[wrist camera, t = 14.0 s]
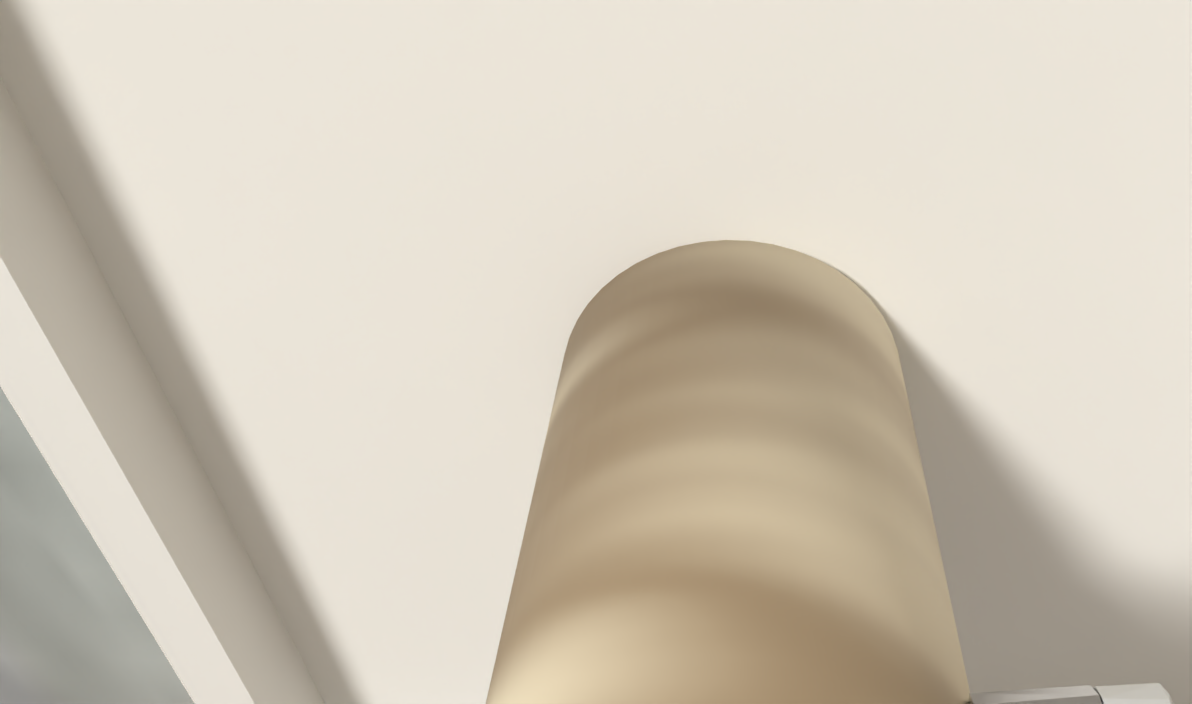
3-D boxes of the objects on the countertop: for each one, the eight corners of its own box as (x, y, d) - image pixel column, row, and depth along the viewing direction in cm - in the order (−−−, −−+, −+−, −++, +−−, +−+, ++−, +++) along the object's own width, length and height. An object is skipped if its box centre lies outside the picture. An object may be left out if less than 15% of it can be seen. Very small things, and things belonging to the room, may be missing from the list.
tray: (339, 782, 22) (305, 884, 20) (-204, -225, 12) (-357, -196, 11) (1362, 739, 18) (1427, 858, 17) (1717, -741, 9) (1960, -823, 7)
